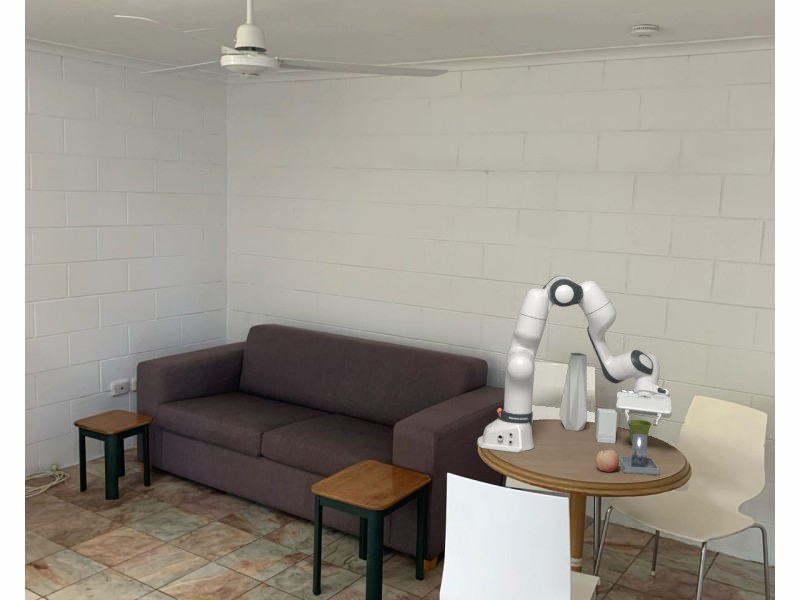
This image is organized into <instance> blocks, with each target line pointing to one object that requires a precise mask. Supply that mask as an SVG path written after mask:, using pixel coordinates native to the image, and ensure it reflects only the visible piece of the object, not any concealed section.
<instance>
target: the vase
mask: <svg viewBox="0 0 800 600" xmlns="http://www.w3.org/2000/svg"><path fill="white" fill-rule="evenodd" d="M568 360H569V361H568V364H567V365H568V366H567V371H566V376H565V381H564V386H563V391H562V398H561V404H560V408H559V414H558V415H559V418H560V421H561V422H562V424H563V427H564V429H565V430H567V431H572V432H580V431H583V430H584V428H585V426H586V423H587V421H588V391H587V390H588V383H587V381H588V380H587V379H588V378H587V377H588V375H587V373H588V372H587V370H588V369H587V366H588V365H587V354H585V353H582V352H581V353H580V352H570V355H569V359H568Z"/></svg>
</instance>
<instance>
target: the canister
mask: <svg viewBox="0 0 800 600" xmlns="http://www.w3.org/2000/svg"><path fill="white" fill-rule="evenodd" d="M647 447H648V436H647V435H645V434H638V433H637V434H633V443H632V448H631V457H632V462H631V467H646V458H647V451H648V450H647Z"/></svg>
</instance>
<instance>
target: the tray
mask: <svg viewBox="0 0 800 600" xmlns="http://www.w3.org/2000/svg"><path fill="white" fill-rule="evenodd" d="M618 457H619V465H620V466H619V467H621V470H622V472H623V473H624V474H627V473H630V474H629V475H642V474H647V476H657V475H659V476H660V468H659V466H658V464H657V463H656V461H655V460H654V458H653V457H646V467H631V462H632V456H629V455H627V456H626V455H625V456H623V455H618Z"/></svg>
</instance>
